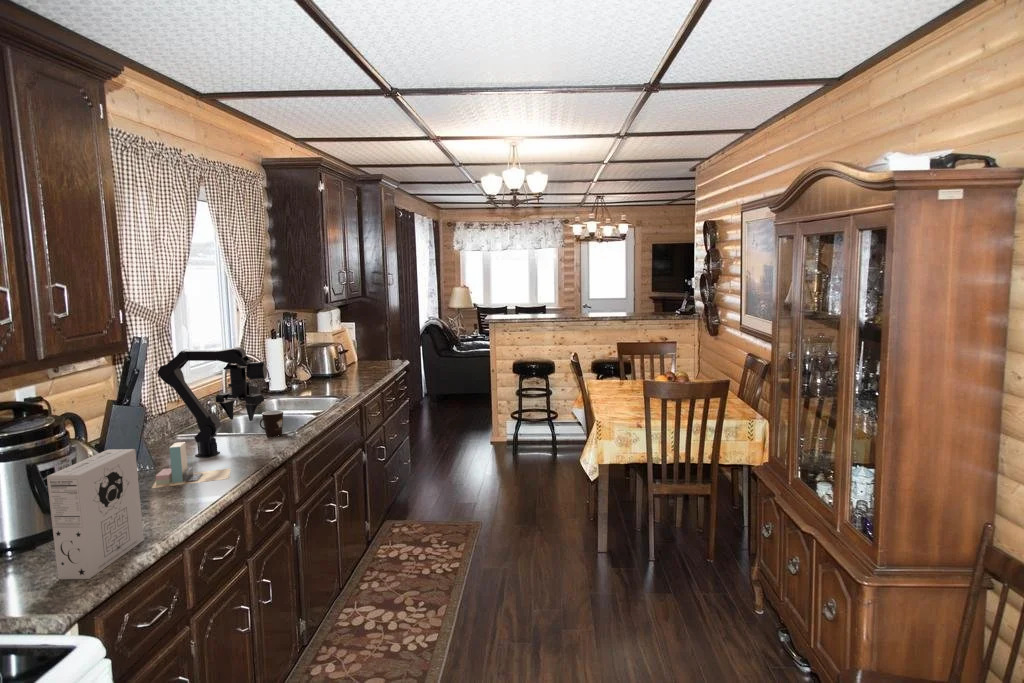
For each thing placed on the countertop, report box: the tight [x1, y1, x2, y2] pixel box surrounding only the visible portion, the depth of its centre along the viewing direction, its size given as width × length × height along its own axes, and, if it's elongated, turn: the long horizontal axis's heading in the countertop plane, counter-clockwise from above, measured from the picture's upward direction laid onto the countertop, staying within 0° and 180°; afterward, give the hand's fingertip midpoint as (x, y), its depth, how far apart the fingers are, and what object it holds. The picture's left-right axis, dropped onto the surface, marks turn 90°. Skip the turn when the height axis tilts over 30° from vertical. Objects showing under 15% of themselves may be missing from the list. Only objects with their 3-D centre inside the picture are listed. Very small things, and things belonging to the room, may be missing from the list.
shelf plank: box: [151, 468, 232, 489], centre depth 220 cm, size 23×12×1 cm, turn 110°
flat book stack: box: [155, 467, 172, 485], centre depth 218 cm, size 8×4×3 cm, turn 11°
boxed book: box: [168, 441, 189, 483], centre depth 218 cm, size 6×3×12 cm, turn 11°
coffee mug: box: [259, 409, 284, 438], centre depth 278 cm, size 12×9×10 cm
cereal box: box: [46, 448, 145, 580], centre depth 160 cm, size 22×8×25 cm, turn 178°
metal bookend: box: [184, 466, 203, 482], centre depth 219 cm, size 7×4×3 cm, turn 11°
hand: (241, 420), depth 252 cm, fingers open, 9 cm apart
